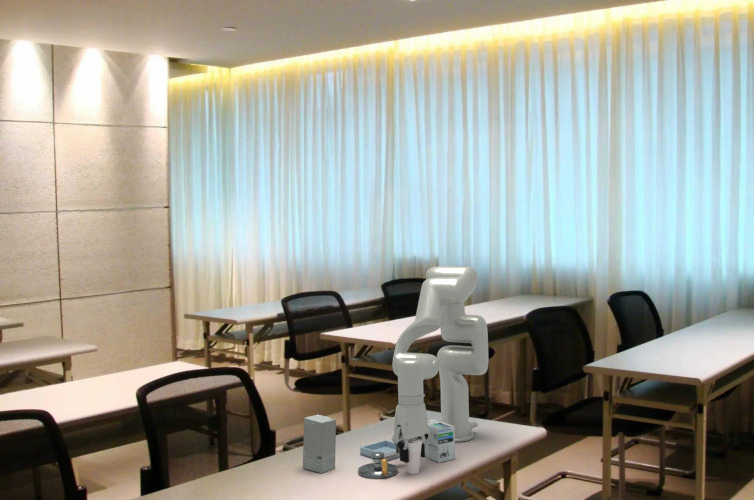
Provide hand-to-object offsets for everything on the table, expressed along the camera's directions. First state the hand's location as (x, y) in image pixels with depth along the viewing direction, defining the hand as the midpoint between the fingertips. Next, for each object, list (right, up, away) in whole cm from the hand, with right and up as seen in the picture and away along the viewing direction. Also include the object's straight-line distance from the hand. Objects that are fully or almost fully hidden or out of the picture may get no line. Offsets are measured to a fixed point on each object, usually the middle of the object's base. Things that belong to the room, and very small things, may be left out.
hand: (412, 458), depth 242 cm
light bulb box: (+9, -3, +14) cm, 17 cm away
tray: (-8, -3, +18) cm, 20 cm away
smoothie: (0, -4, 0) cm, 4 cm away
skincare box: (-28, -5, +6) cm, 29 cm away
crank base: (-10, -4, +1) cm, 11 cm away
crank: (-7, -1, +3) cm, 8 cm away
